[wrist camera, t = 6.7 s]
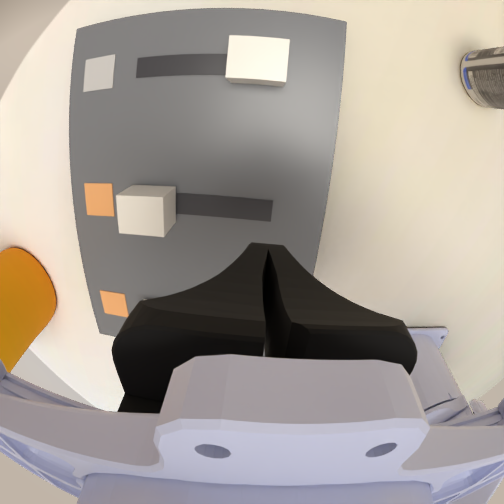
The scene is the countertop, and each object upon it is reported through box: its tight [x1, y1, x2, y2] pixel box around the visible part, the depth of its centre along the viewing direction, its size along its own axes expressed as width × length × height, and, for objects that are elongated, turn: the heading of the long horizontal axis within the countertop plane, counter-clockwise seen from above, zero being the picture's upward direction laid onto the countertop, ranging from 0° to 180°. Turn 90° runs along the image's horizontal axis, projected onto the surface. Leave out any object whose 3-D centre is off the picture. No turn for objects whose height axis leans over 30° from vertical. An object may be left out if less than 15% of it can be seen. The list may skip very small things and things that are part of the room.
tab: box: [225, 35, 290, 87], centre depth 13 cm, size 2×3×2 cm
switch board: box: [69, 8, 347, 357], centre depth 19 cm, size 26×18×2 cm
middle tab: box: [116, 185, 176, 237], centre depth 17 cm, size 2×3×2 cm
